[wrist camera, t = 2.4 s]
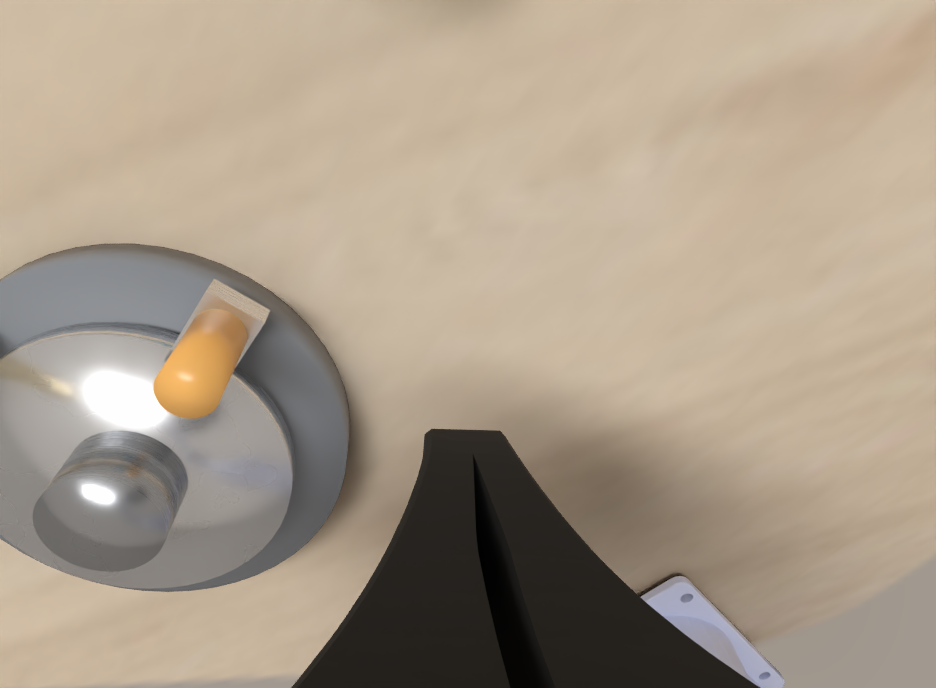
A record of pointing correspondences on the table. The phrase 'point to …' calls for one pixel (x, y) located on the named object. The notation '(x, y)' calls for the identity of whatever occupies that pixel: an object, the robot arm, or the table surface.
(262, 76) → the table surface
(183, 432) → the flange
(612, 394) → the table surface
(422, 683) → the robot arm
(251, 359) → the post base
